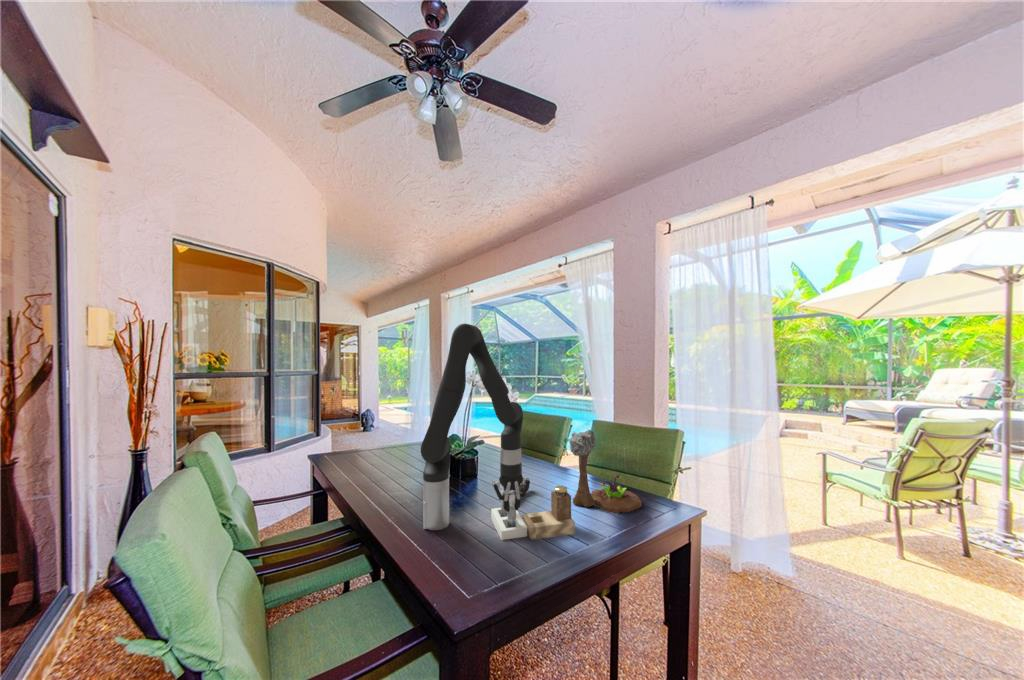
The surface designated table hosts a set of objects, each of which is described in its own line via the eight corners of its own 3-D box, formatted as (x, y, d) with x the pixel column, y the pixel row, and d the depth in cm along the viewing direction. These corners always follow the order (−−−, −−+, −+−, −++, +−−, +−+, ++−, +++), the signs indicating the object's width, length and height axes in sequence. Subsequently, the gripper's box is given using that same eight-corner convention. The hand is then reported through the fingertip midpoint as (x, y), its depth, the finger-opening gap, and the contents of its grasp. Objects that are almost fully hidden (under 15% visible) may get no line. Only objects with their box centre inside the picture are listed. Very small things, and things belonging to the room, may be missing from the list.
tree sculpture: (594, 513, 142) (593, 437, 142) (568, 510, 145) (567, 435, 146) (597, 498, 156) (597, 428, 156) (574, 495, 160) (573, 426, 160)
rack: (501, 543, 122) (501, 507, 122) (491, 519, 138) (491, 487, 138) (527, 539, 124) (526, 504, 124) (514, 516, 141) (514, 485, 141)
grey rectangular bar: (506, 525, 128) (506, 491, 128) (514, 524, 129) (514, 490, 129) (508, 530, 125) (508, 495, 125) (517, 528, 126) (516, 494, 126)
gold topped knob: (557, 511, 127) (557, 491, 127) (553, 505, 132) (552, 486, 132) (569, 509, 129) (569, 489, 129) (564, 504, 133) (564, 485, 133)
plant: (651, 507, 148) (650, 480, 148) (613, 518, 140) (612, 488, 140) (617, 489, 166) (616, 465, 166) (581, 497, 158) (581, 472, 158)
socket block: (530, 543, 122) (530, 504, 122) (522, 528, 132) (522, 492, 132) (574, 536, 126) (574, 498, 126) (563, 522, 136) (563, 487, 136)
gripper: (527, 455, 133) (527, 502, 132) (489, 459, 129) (489, 507, 129) (533, 461, 125) (534, 512, 125) (493, 466, 122) (494, 517, 122)
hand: (511, 509), depth 127 cm, fingers closed on grey rectangular bar, 3 cm apart
